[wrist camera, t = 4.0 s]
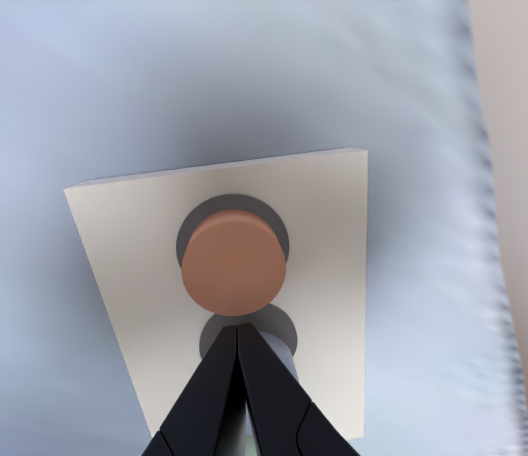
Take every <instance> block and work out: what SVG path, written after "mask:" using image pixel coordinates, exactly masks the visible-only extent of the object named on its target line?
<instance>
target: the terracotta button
mask: <svg viewBox="0 0 528 456" xmlns="http://www.w3.org/2000/svg"><path fill="white" fill-rule="evenodd" d="M181 274H182V280H183V284H184V287H185V289H186V291H187V292H188V294H189V295H190V297H191V298H192V299H193V300H194V301H195V302H196V303H197V304H198V305H199V306H201V307H202V308H204V309H206V310H208V311H210V312H212V313H215V314H219V315H224V316H240V315H246V314H250V313H253V312H255V311H257V310H259V309H261V308H263V307H264V306H266V305H267V304H268V303H270V302H271V301H272V300H273V299H274V298H275V297H276V295H277V294H278V293H279V291H280V289H281V288H282V285H283V283H284V280H285V276H286V261H285V257H284V254H283V251H282V249H281V246H280V244H279V242H278V239H277V237H276V235H275V233H274V231H273V229H272V228H271V226H270V225H269V224H268V223H267V222H266V221H265V220H264V219H263V218H261V217H260V216H258V215H256V214H254V213H252V212H249V211H245V210H240V209H229V210H223V211H219V212H216V213H214V214H212V215H210V216H208V217H207V218H205V219H204V220H203V221H202V222H200V223H199V225H198V226H197V227H196V228H195V230H194V231H193V233H192V235H191V237H190V240H189V243H188V246H187V249H186V252H185V255H184V258H183V261H182V267H181Z"/></svg>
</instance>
